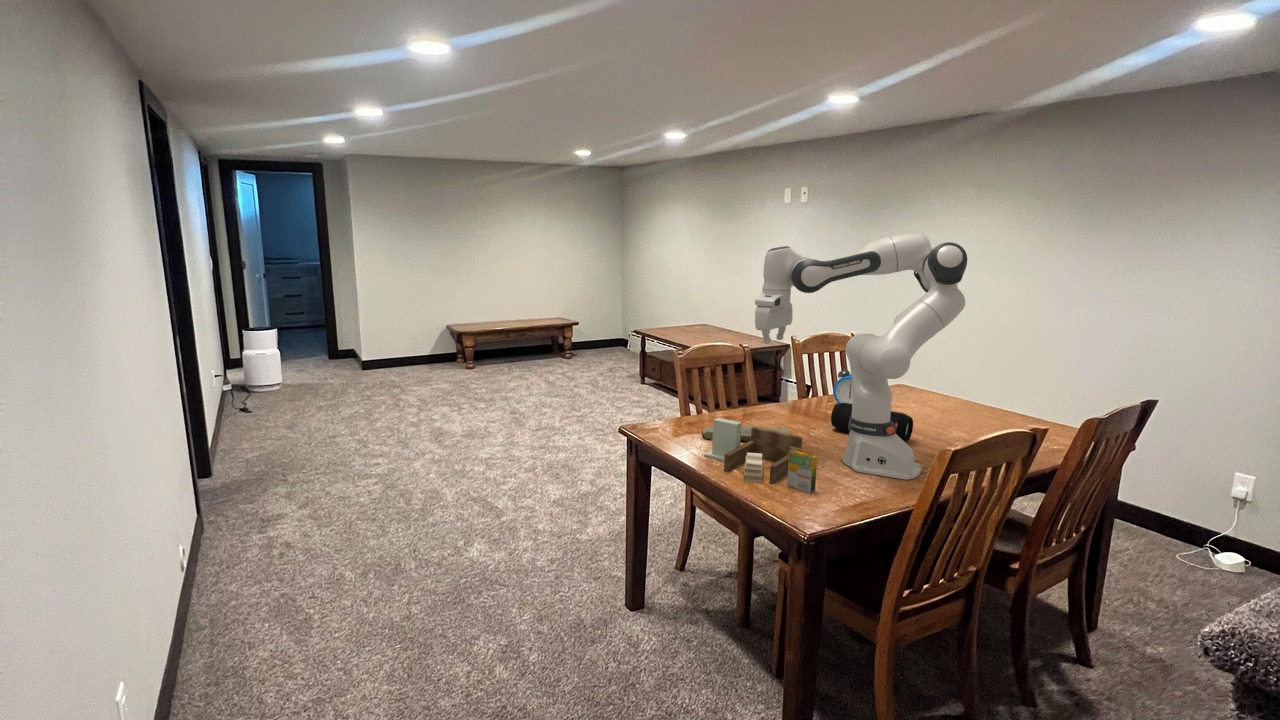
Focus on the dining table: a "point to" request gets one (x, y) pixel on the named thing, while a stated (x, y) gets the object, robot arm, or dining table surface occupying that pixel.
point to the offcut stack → (753, 467)
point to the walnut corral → (765, 451)
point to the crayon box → (802, 469)
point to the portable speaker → (903, 421)
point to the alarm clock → (843, 388)
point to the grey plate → (713, 456)
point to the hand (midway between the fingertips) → (773, 341)
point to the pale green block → (725, 436)
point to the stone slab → (743, 432)
